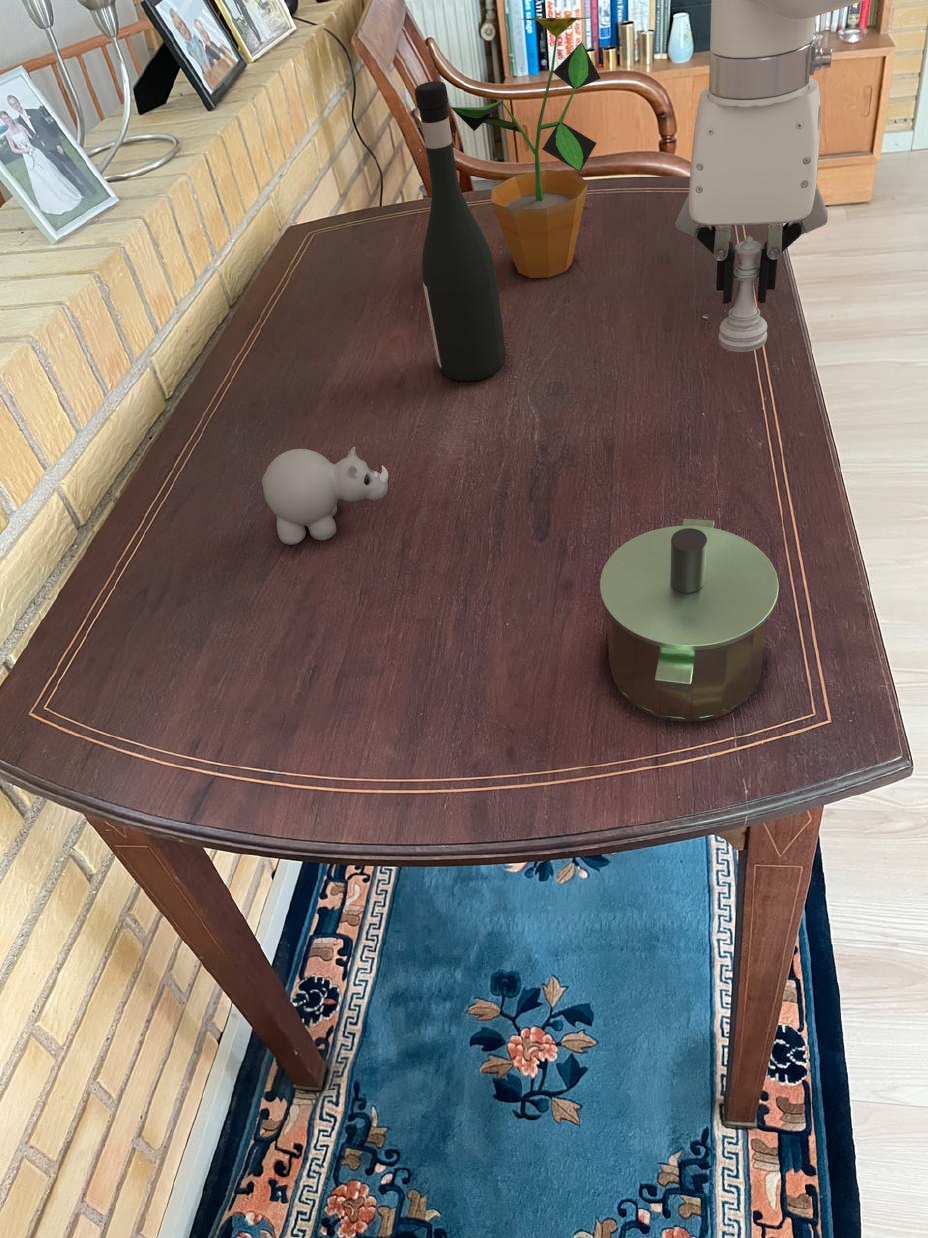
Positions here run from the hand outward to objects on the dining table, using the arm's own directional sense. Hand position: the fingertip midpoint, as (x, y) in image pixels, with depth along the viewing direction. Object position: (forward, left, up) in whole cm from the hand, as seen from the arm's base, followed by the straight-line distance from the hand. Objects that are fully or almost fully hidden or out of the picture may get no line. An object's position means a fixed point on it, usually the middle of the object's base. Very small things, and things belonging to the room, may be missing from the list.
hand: (745, 294), depth 84 cm
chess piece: (0, 0, -5) cm, 5 cm away
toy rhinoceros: (+36, +20, -14) cm, 44 cm away
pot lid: (+1, +34, -5) cm, 34 cm away
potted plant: (+27, -35, -14) cm, 46 cm away
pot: (+1, +34, -13) cm, 36 cm away
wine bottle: (+30, -9, -14) cm, 34 cm away
